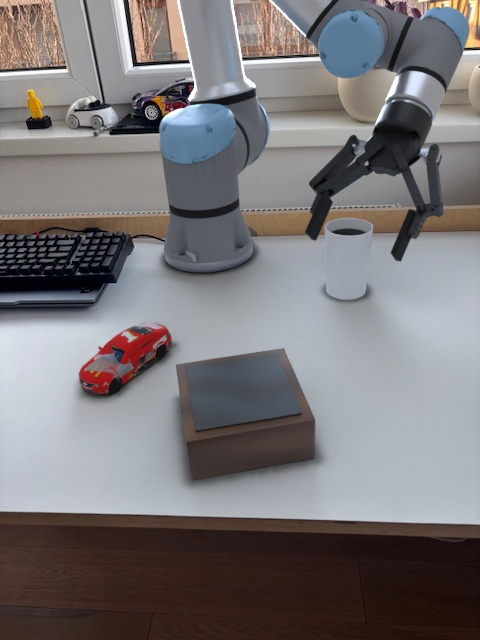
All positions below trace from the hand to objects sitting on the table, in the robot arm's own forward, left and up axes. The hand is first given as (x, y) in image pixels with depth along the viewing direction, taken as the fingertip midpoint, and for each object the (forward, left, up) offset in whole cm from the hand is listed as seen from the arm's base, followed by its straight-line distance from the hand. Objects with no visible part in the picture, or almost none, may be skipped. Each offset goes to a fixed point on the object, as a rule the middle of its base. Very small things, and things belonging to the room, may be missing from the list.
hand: (350, 246), depth 77 cm
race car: (+11, -33, -7) cm, 35 cm away
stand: (+25, -21, -7) cm, 33 cm away
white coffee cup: (0, -1, -7) cm, 7 cm away
